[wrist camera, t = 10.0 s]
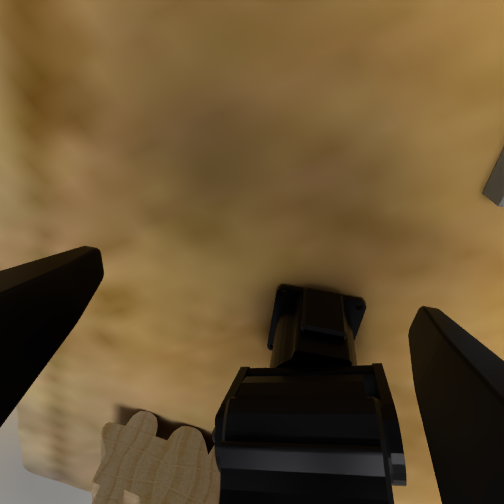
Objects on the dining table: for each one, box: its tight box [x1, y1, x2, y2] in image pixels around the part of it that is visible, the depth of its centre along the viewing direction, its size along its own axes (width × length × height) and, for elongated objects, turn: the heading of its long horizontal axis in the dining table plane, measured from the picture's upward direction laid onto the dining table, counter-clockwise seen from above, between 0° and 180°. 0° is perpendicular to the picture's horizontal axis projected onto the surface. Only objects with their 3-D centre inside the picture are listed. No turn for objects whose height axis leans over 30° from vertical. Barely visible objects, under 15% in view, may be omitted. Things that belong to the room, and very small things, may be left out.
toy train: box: [92, 411, 220, 504], centre depth 33 cm, size 6×17×10 cm, turn 75°
